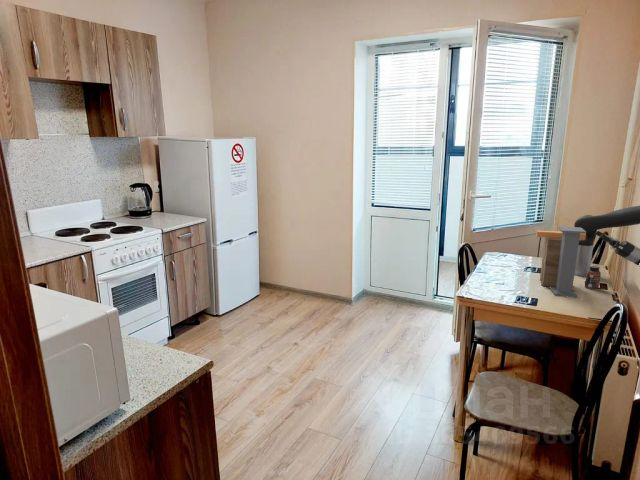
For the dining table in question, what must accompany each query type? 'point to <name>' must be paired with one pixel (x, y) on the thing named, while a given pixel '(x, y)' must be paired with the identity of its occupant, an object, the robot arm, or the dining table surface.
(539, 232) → the block
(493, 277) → the dining table surface
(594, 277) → the supplement bottle
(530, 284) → the dining table surface
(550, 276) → the tan upright box
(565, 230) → the tall stand
